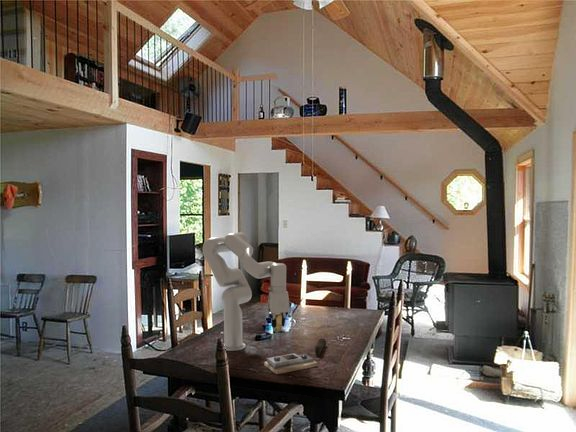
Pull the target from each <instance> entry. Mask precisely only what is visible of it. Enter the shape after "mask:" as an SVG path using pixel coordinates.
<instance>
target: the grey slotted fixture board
mask: <svg viewBox="0 0 576 432" xmlns="http://www.w3.org/2000/svg"><path fill="white" fill-rule="evenodd" d="M266 361H267V363H268V364H269V365H270V366H272V367H273V368H274V369H277V368H282V367H288V366H293V365H298V364H303V363H308V362H313V361H315V359H314V358H313V357H312V356H310V355H308V354H307V353H303V354H297V353H294V352H293V353H288V354H283V355H282V354H281V355H278V356H273V357H267V360H266Z"/></svg>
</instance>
